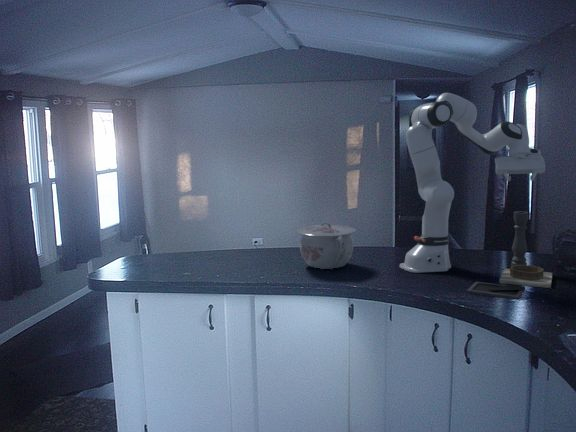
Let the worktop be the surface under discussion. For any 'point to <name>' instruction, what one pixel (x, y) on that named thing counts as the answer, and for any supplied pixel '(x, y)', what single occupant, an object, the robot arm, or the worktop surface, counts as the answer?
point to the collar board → (526, 276)
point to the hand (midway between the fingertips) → (520, 180)
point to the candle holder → (519, 238)
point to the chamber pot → (326, 245)
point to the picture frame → (497, 290)
